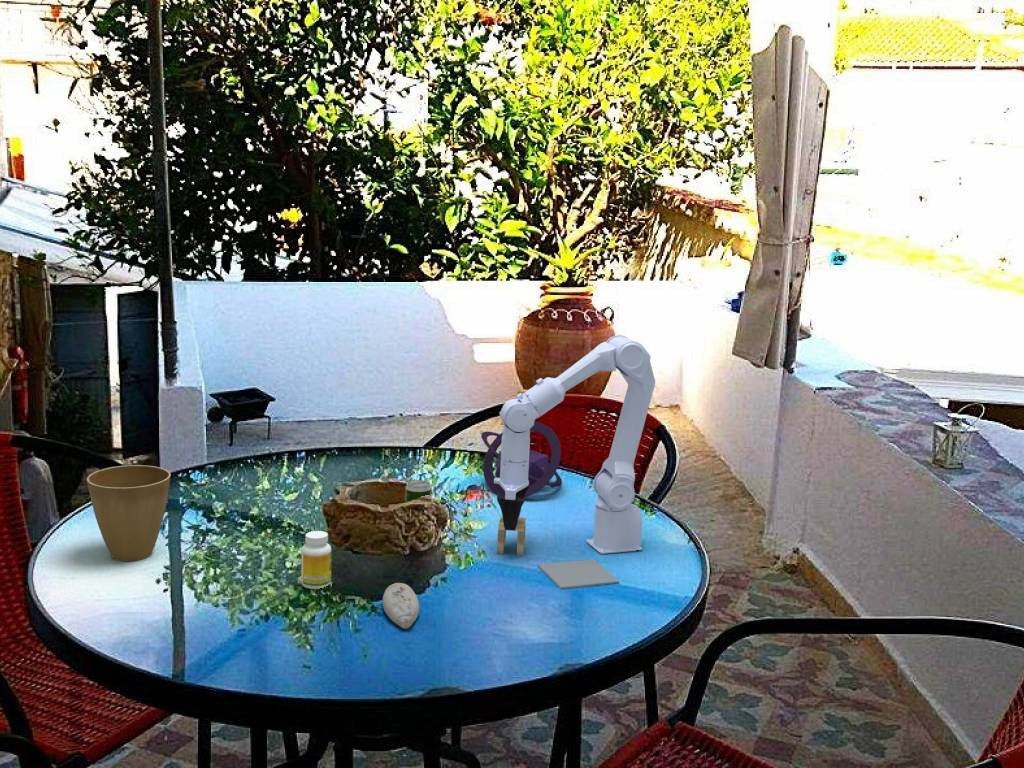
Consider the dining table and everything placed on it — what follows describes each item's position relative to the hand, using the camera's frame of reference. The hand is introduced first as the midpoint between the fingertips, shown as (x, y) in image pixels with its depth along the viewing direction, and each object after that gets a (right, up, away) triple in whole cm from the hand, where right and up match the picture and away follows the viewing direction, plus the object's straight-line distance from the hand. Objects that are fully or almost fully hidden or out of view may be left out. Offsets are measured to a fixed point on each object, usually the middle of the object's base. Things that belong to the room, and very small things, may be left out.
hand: (511, 523), depth 203 cm
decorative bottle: (+2, +2, +45) cm, 45 cm away
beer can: (-20, -4, +6) cm, 21 cm away
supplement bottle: (-36, -8, -21) cm, 42 cm away
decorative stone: (-19, -11, -32) cm, 39 cm away
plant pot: (-74, -5, -10) cm, 74 cm away
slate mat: (+13, -8, -11) cm, 19 cm away
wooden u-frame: (0, -6, +1) cm, 6 cm away
